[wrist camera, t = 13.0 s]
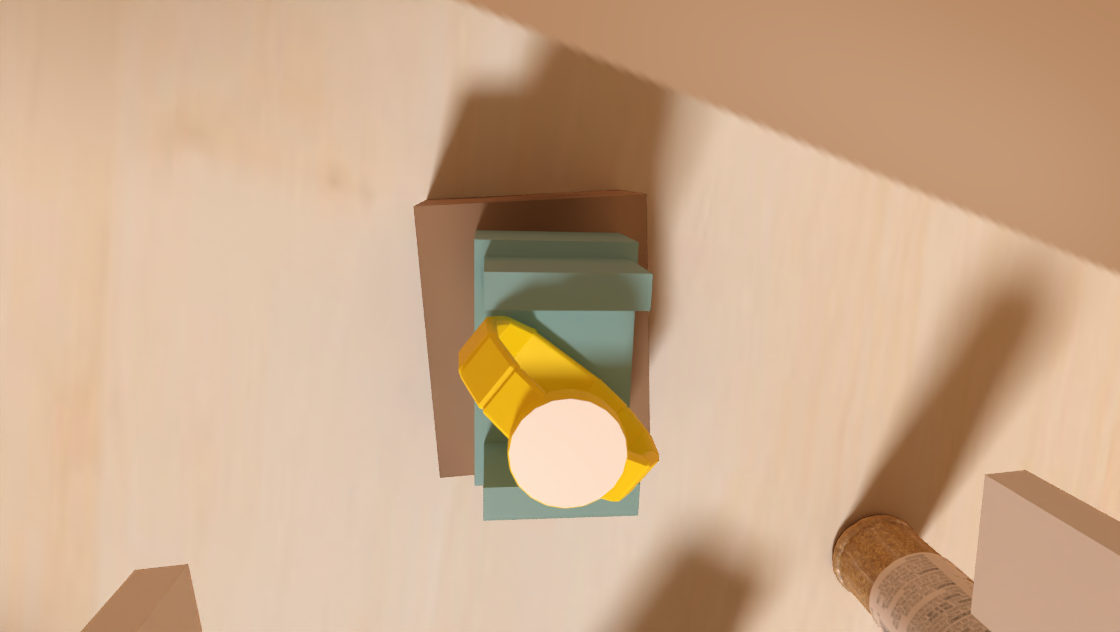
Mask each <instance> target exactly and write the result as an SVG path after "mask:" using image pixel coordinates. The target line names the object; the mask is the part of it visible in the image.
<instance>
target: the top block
mask: <svg viewBox="0 0 1120 632" xmlns="http://www.w3.org/2000/svg"><path fill="white" fill-rule="evenodd" d="M638 247H639V242H637V241H635V240H633V239H631V238H629V237H627V236H625V235H623V234H621V233H603V232H550V231H496V230H476V233H475V238H474V332H475V331H476V330H477V328H478V327H479V326H480V325H481V323H482V322H483V321H484V320H485V318H486V317H491V316H506V317H507V316H508V317H510V318H512V319H514V320H516V321H519V322H521V323H523V324H525V325H527V326H529V327H531V328H534V329H536V330H537V333H539V334H540V335H541V336H543V337H544V338H545V339H547V340H548V341H549V342H551V343H552V344H553V345H555V346H556V347H557V348H559V349H560V350H561V351H563V352H564V353H565V354H567V355H568V356H569V357H571V358H572V359H574V360H575V361H576V362H578V363H579V364H580V365H582V366H583V367H584V368H586V369H587V370H588V371H590V372H591V373H592V374H594V375H595V376H596V377H598V378H599V379H601V380H602V381H603V382H604V383H605V384H606V385H607V386H608V387H609V388H610V389H611V390H612V391H613V392H614V393H615V394H616V395H617V396H618V397H619V398H620V399H621V400H622V401H623V402H624V403H625V404H626V405H627V407H628V408H629V407H630V390H631V372H632V354H633V336H634V318H635V311H651V297H652V281H653V274H652V273H651V272H649V271H648V270H646V269H644V268H643V267H641V266H640V265H638ZM474 435H475V486H477V485H484V486H483V521H487V520H517V519H546V518H576V517H606V516H636V515H638V507H639V491H640V482H639V483H638V484H637V486H636V487H635V488H634V489H633V490H632V491H631V492H630V493H629V494H628V495H627V496H625V497H624V498H623V499H622V500H620V501H616V502H615V501H608V500H605V499H599V500H597V501H594V502H592V503H590V504H588V505H585V506H582V507H574V508H558V507H552V506H547V505H544V504H542V503H540V502H538V501H536V500H534V499H532V498H530V497H529V496H528V495H527V494H526V493H525V492H524V491H523V490H522V489H521V488H520V487H519V486H518V485H517V483H516V481H515V479H514V477H513V476H512V474H511V472H510V469H509V463H508V455H507V448H508V438H507V437H506V436H505V435H504V434H503V433H502V432H501V431H500V430H499V429H498V428H497V427H496V426H495V425H494V424H493V423H492V422H491V421H490V419H489V418H488V417H487V416H486V415H485V414H484V413H483V409H480V408H479V407H478V405H477V404H476V402H475V400H474Z"/></svg>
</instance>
